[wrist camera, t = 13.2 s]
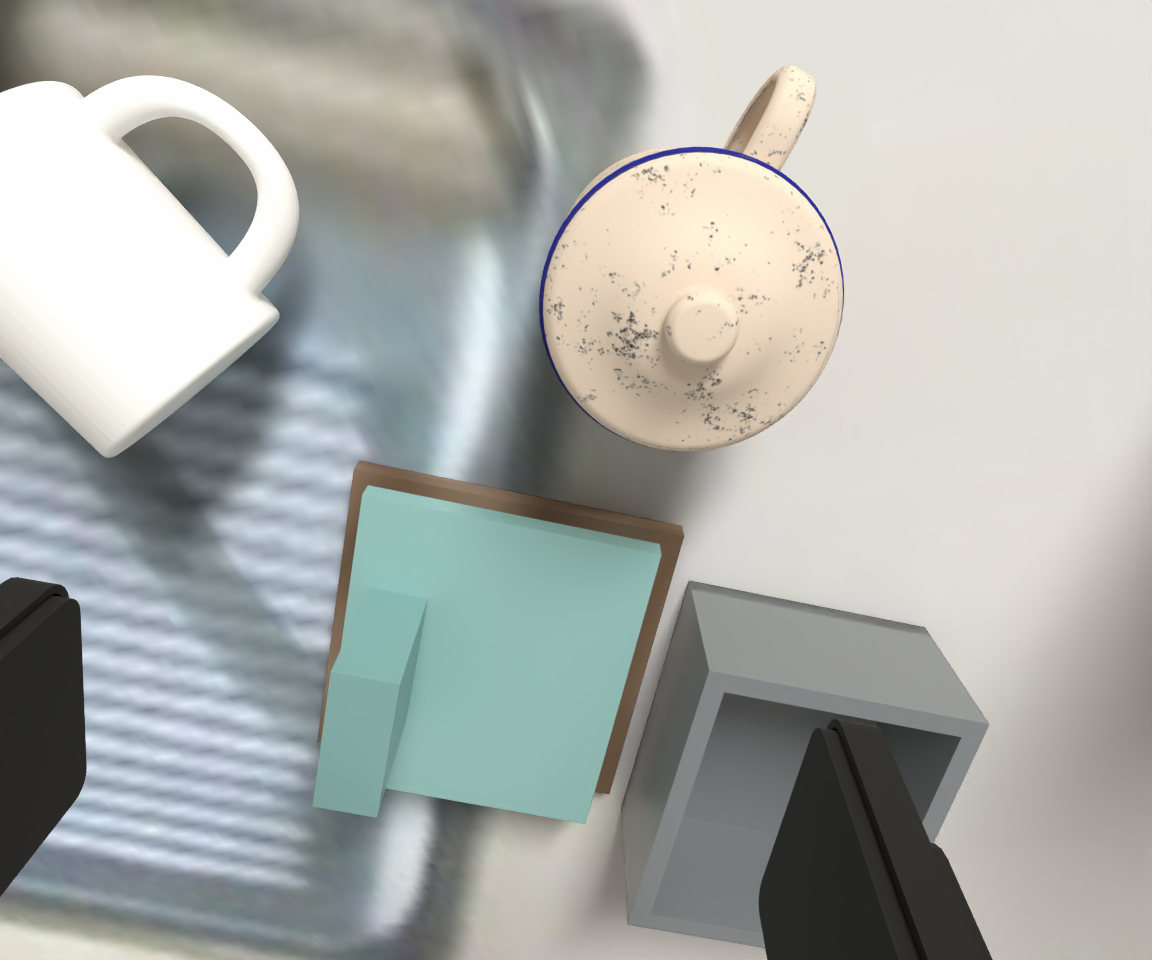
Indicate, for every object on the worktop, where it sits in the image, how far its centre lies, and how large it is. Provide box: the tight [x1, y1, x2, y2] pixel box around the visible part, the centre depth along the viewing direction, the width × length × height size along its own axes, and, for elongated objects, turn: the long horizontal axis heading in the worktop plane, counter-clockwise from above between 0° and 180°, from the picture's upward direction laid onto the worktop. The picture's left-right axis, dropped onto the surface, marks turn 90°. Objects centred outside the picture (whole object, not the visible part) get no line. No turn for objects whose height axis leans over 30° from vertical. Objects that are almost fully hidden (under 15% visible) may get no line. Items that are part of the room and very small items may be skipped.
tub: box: [622, 581, 989, 948], centre depth 39 cm, size 11×13×7 cm
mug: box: [0, 76, 299, 458], centre depth 31 cm, size 12×10×8 cm
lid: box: [312, 485, 661, 824], centre depth 36 cm, size 12×14×8 cm
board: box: [318, 461, 684, 794], centre depth 41 cm, size 14×14×1 cm
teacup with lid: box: [539, 66, 844, 452], centre depth 29 cm, size 12×9×12 cm
